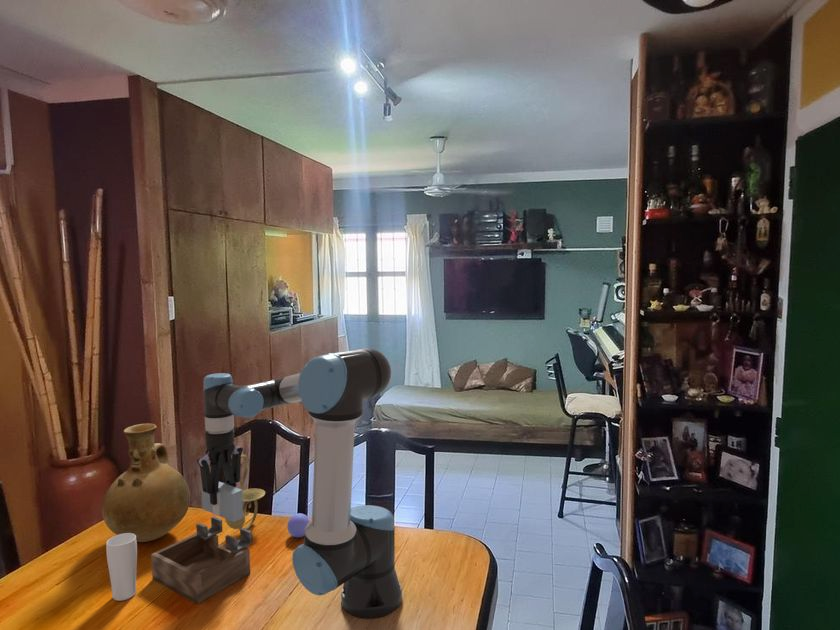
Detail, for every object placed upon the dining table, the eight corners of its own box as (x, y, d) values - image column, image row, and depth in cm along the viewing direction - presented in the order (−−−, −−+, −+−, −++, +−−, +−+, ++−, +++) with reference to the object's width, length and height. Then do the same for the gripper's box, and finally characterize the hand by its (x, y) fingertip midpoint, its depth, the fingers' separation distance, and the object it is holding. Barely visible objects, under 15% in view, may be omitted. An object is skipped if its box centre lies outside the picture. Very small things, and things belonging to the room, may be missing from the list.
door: (245, 516, 149) (244, 488, 149) (233, 522, 146) (233, 493, 145) (213, 503, 157) (213, 477, 156) (201, 508, 154) (201, 481, 153)
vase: (139, 518, 181) (133, 415, 177) (206, 522, 177) (202, 417, 174) (85, 555, 157) (78, 438, 154) (162, 561, 154) (156, 441, 151)
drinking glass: (118, 607, 133) (115, 548, 132) (103, 598, 137) (100, 541, 135) (145, 592, 139) (142, 536, 138) (130, 584, 143) (127, 530, 141)
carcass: (256, 569, 149) (255, 533, 148) (198, 604, 134) (196, 563, 133) (211, 549, 160) (210, 514, 159) (152, 579, 145) (150, 541, 144)
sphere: (308, 541, 164) (307, 519, 164) (285, 541, 164) (284, 519, 164) (312, 530, 171) (312, 509, 171) (290, 530, 171) (290, 509, 171)
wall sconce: (249, 542, 164) (246, 462, 162) (221, 538, 166) (218, 459, 164) (271, 521, 178) (269, 447, 176) (245, 518, 180) (242, 445, 178)
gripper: (235, 420, 158) (238, 498, 160) (185, 435, 144) (188, 519, 146) (252, 424, 154) (255, 504, 156) (202, 440, 140) (205, 527, 142)
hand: (222, 511), depth 151 cm, fingers closed on door, 3 cm apart
